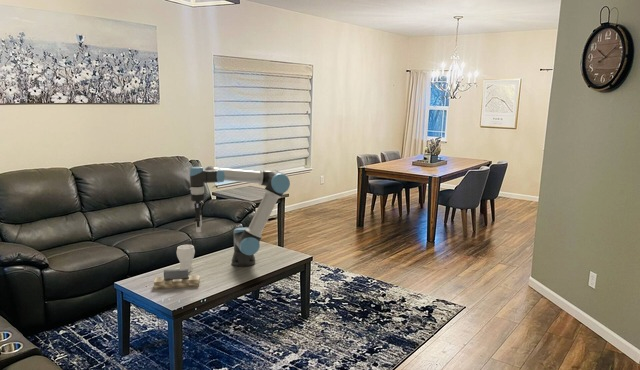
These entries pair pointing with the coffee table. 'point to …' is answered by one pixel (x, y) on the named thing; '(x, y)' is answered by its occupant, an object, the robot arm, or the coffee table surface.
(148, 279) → the coffee table surface
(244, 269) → the coffee table surface
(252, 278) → the coffee table surface
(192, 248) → the cup
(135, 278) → the coffee table surface
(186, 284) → the rail
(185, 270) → the grey block
